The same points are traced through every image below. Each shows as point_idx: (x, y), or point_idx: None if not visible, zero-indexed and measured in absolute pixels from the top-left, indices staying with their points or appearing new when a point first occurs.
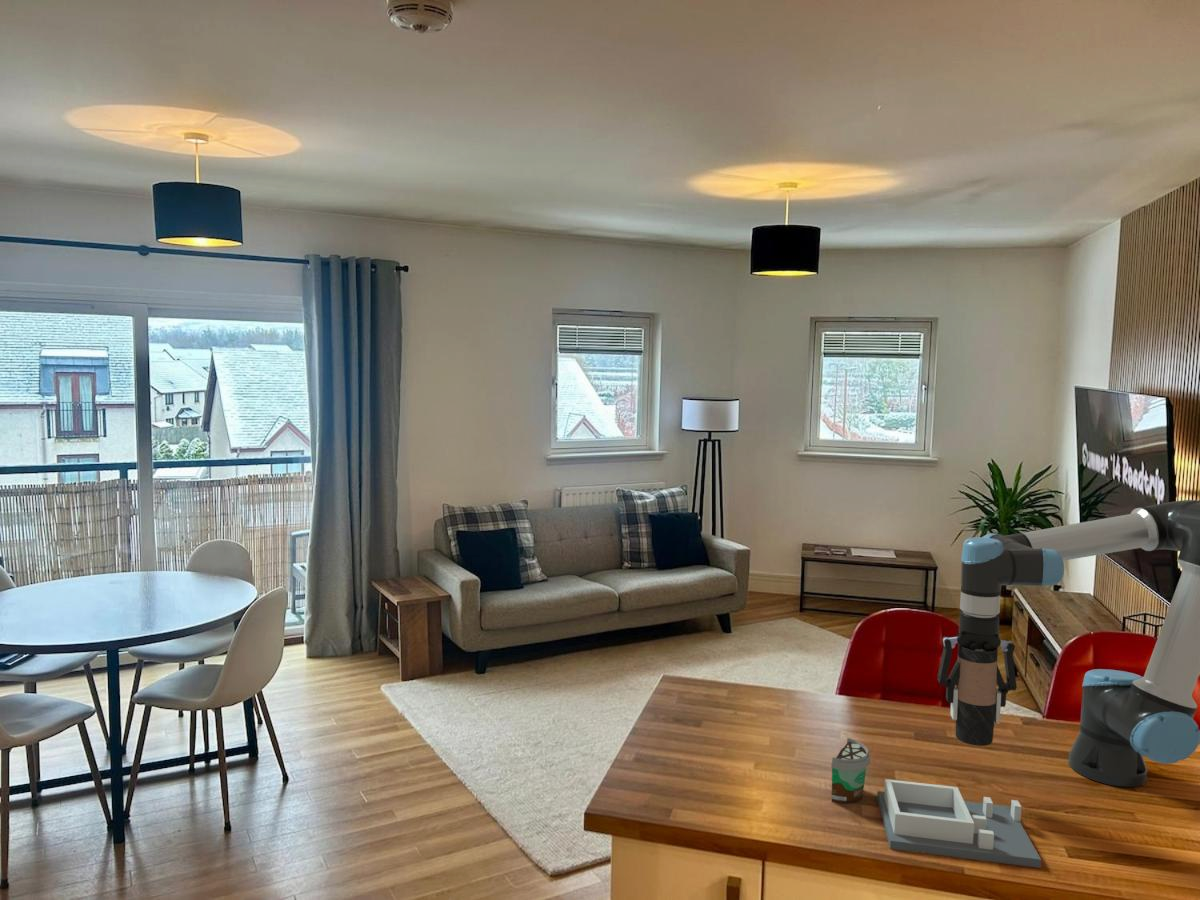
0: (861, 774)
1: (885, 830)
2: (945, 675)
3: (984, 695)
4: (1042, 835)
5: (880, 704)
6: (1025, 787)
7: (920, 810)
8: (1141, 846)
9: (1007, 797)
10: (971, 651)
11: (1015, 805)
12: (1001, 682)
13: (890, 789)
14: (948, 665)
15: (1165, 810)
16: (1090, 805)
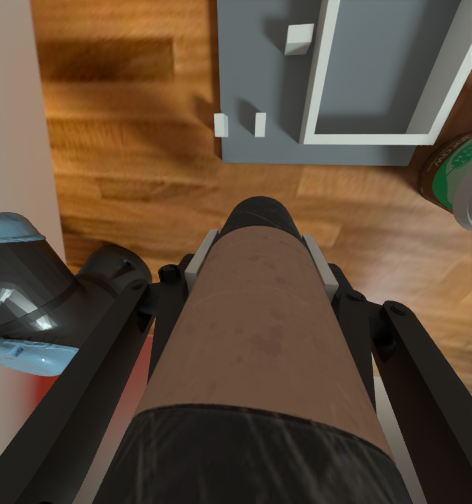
0: None
1: None
2: (408, 338)
3: (246, 243)
4: (196, 106)
5: None
6: (195, 231)
7: (366, 110)
8: (90, 111)
9: (218, 205)
10: None
11: (222, 115)
12: (168, 301)
13: (453, 93)
14: (439, 400)
15: (77, 208)
16: (138, 204)
